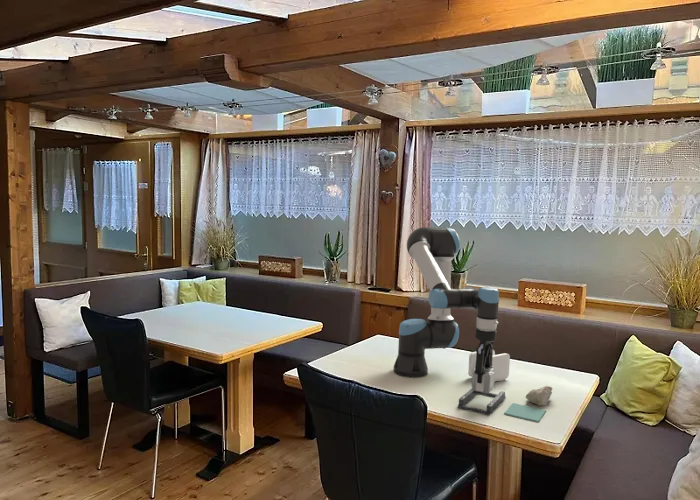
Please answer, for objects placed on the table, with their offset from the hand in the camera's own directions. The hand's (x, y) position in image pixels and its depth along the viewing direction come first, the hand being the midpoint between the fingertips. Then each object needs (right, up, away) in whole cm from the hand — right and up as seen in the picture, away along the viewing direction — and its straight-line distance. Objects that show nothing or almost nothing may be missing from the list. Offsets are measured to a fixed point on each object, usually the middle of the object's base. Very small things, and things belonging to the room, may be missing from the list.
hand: (482, 388), depth 201 cm
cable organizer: (+10, -4, +29) cm, 31 cm away
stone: (+23, -6, +4) cm, 24 cm away
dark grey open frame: (0, -6, 0) cm, 6 cm away
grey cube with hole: (0, -1, 0) cm, 0 cm away
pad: (+13, -7, -8) cm, 17 cm away
